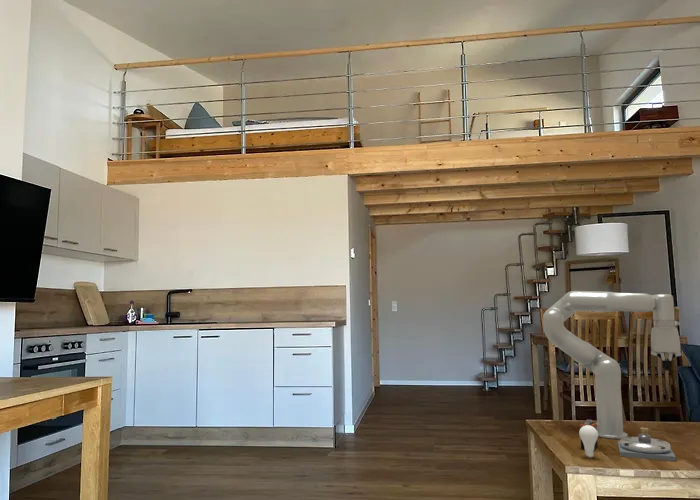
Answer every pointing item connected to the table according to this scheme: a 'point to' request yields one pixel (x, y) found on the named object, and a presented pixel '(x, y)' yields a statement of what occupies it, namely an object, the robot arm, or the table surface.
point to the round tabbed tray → (645, 443)
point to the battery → (592, 426)
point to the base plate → (646, 454)
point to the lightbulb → (588, 439)
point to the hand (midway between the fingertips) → (667, 370)
